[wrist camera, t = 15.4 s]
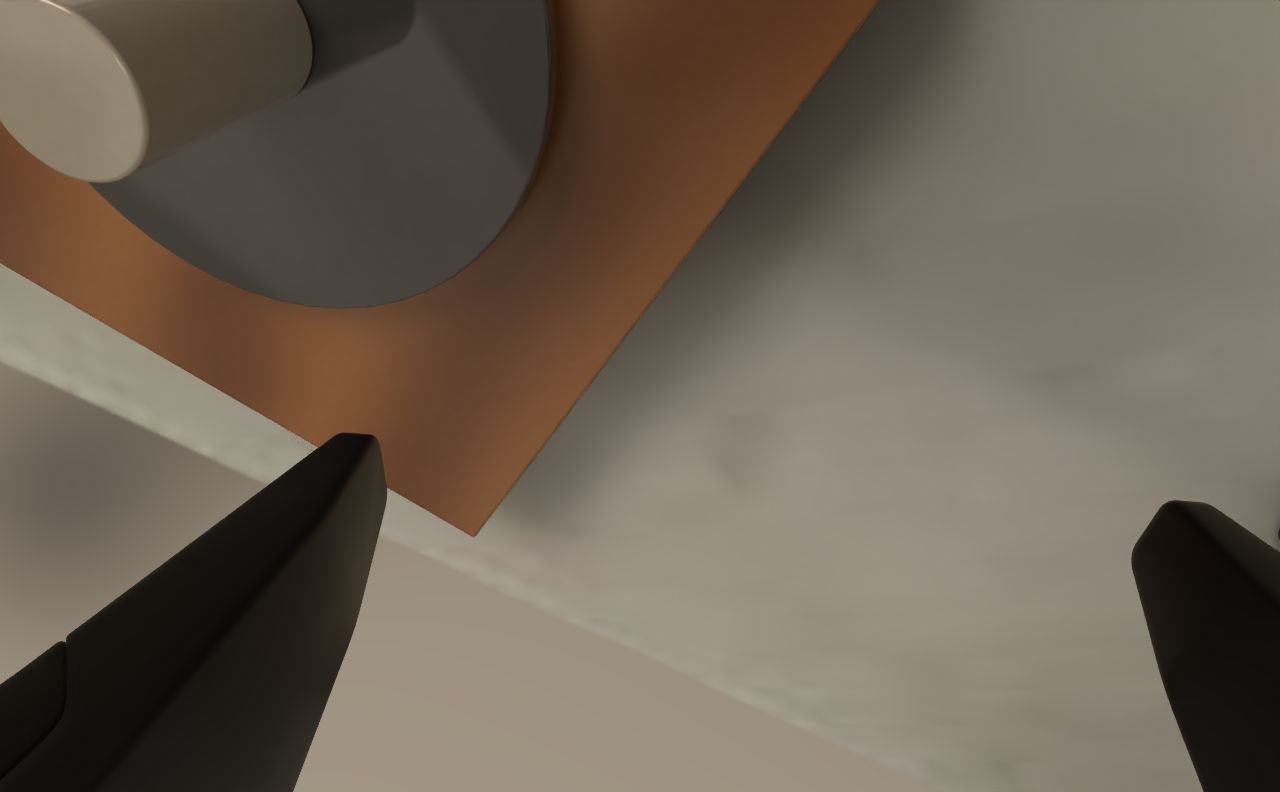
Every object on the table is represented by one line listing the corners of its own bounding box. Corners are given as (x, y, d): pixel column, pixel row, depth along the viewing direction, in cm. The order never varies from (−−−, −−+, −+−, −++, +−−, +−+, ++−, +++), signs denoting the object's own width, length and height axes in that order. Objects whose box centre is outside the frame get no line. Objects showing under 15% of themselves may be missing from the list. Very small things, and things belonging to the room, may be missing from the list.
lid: (505, -448, 13) (293, -634, 8) (600, 290, 19) (522, 444, 15) (-134, -323, 15) (-600, -401, 10) (150, 288, 22) (-47, 419, 17)
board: (937, -103, 16) (952, -95, 14) (500, 486, 27) (473, 539, 25) (65, -822, 13) (-76, -944, 11) (-22, 176, 24) (-100, 207, 22)
